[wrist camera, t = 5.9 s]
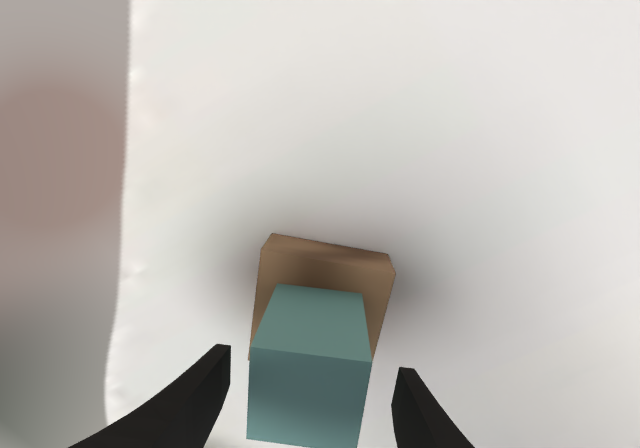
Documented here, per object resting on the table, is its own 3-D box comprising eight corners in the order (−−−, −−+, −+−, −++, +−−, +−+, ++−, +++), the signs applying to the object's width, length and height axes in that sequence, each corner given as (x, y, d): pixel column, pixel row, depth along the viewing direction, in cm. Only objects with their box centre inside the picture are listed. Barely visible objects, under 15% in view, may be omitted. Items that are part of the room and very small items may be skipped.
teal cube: (361, 293, 16) (372, 362, 11) (351, 364, 17) (356, 453, 12) (277, 283, 16) (250, 346, 11) (272, 354, 17) (246, 438, 12)
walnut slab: (386, 251, 18) (395, 273, 15) (362, 346, 20) (366, 382, 17) (273, 231, 18) (260, 249, 15) (260, 328, 20) (247, 360, 17)
